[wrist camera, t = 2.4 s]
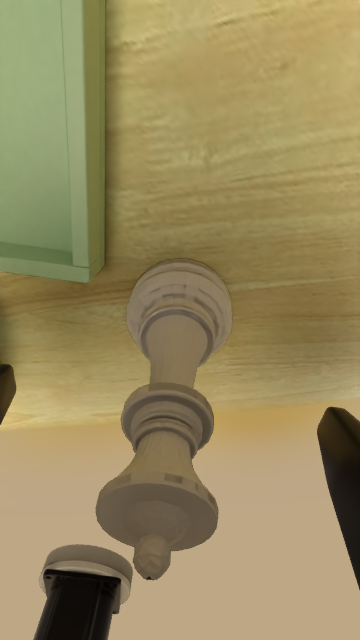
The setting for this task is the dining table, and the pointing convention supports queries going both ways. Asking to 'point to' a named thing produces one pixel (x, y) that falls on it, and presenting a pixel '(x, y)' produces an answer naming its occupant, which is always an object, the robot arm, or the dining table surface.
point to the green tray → (52, 138)
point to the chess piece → (168, 416)
